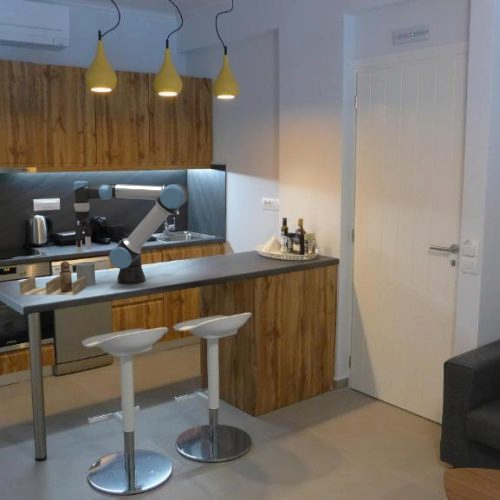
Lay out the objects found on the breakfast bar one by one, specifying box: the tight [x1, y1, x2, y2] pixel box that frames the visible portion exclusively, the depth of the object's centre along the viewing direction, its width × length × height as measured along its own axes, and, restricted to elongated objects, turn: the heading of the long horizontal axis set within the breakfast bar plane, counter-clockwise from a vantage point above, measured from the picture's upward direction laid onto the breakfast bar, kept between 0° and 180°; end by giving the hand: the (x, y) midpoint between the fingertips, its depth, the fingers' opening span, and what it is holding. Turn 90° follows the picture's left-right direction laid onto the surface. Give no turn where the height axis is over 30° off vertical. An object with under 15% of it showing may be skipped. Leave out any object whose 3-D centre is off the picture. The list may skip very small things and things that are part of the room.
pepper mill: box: [59, 260, 73, 292], centre depth 315 cm, size 6×6×16 cm
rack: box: [19, 275, 87, 296], centre depth 316 cm, size 28×16×7 cm, turn 86°
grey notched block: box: [75, 261, 96, 288], centre depth 330 cm, size 10×10×12 cm
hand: (84, 250), depth 327 cm, fingers open, 13 cm apart
